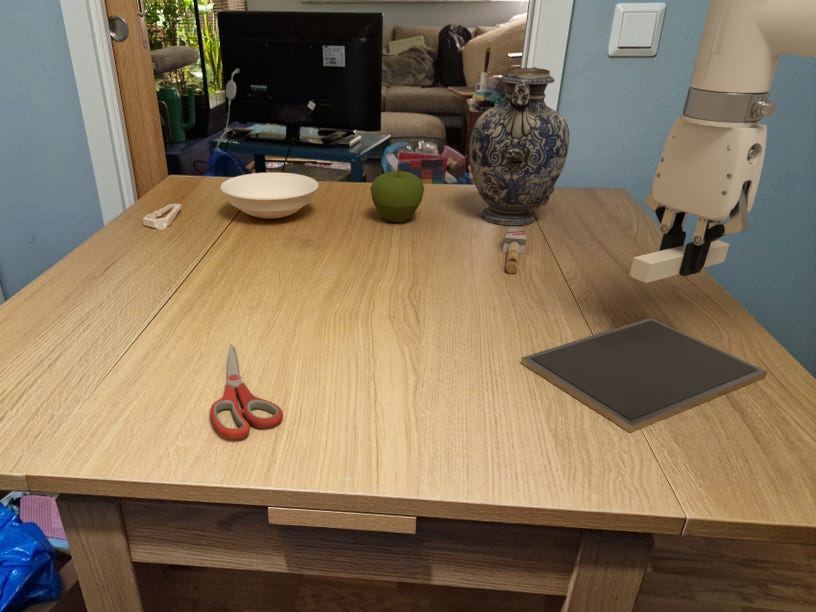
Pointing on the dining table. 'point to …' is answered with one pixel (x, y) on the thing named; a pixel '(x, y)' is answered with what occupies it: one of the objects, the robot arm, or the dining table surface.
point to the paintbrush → (514, 246)
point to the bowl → (269, 193)
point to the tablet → (642, 372)
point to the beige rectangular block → (672, 262)
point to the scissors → (246, 401)
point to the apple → (397, 195)
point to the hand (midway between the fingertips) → (678, 268)
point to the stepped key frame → (162, 222)
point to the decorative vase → (518, 149)
